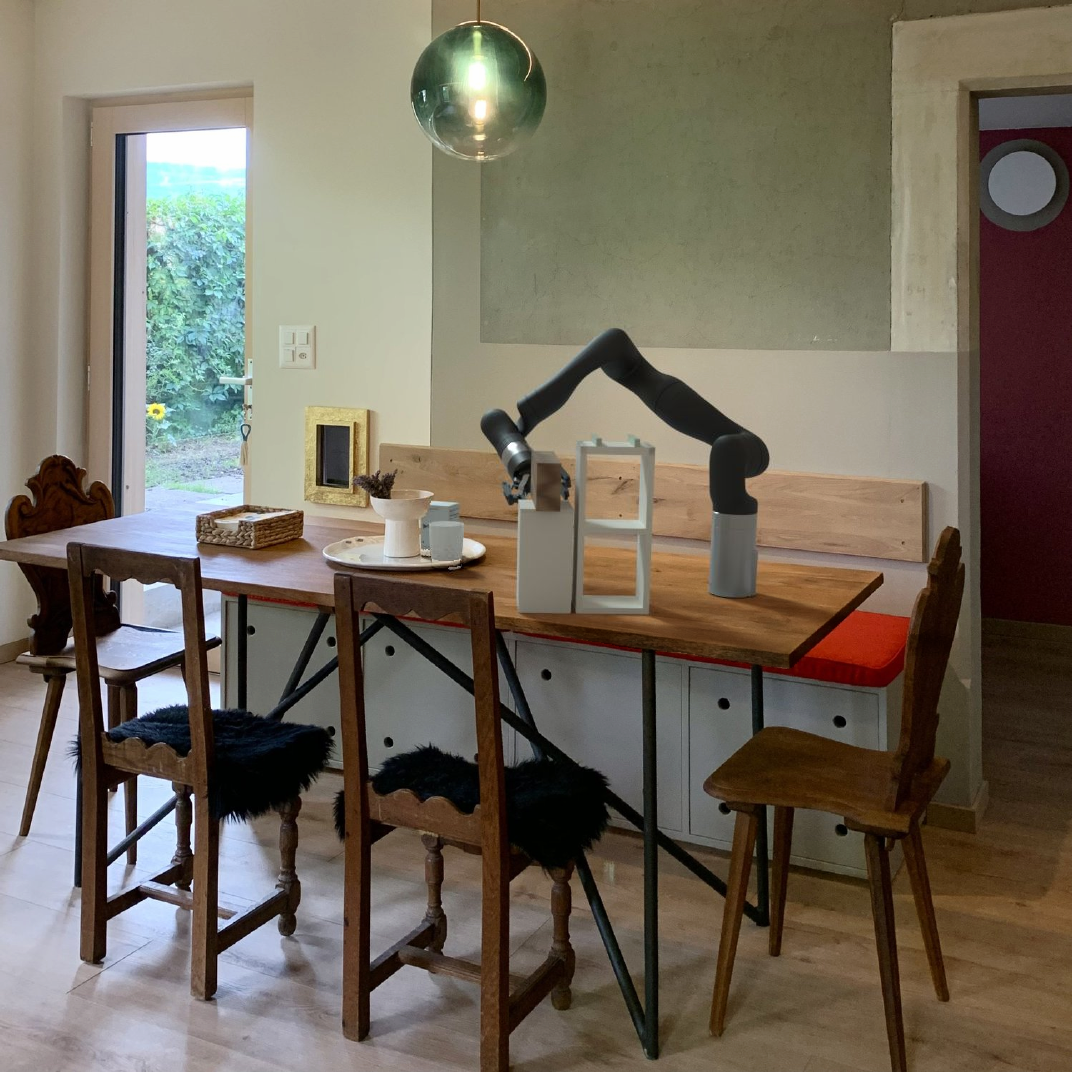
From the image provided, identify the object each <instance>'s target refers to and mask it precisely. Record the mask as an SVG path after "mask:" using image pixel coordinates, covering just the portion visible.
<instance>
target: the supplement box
mask: <svg viewBox="0 0 1072 1072" xmlns="http://www.w3.org/2000/svg"><path fill="white" fill-rule="evenodd" d="M430 501H431V503H430V505H429V509H428V512H427V514H426V516H424V517H422V518H421V517H420V543H421V549H423V550H424V549H425V550H426V549H428V550H430V534H429V523H431V522H437V521H454V522H460V507H461V503H460V502H450V501H440V500H430Z"/></svg>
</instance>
